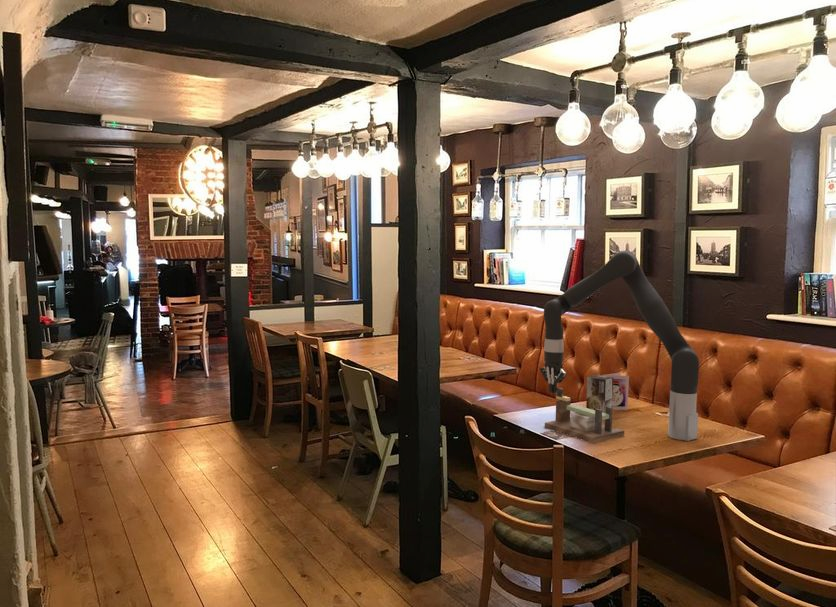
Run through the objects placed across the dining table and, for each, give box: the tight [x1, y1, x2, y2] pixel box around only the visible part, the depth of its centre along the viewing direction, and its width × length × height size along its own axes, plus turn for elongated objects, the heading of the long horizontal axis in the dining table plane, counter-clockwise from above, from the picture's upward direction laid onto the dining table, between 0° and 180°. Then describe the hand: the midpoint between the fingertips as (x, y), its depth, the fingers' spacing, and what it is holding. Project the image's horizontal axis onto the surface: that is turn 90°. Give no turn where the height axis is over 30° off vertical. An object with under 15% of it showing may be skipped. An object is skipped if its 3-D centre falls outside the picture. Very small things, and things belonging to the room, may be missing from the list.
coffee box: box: [585, 374, 613, 413], centre depth 277 cm, size 9×6×16 cm
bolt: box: [555, 387, 571, 401], centre depth 260 cm, size 6×2×4 cm, turn 36°
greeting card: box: [601, 372, 630, 411], centre depth 288 cm, size 11×7×15 cm, turn 86°
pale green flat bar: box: [567, 403, 609, 421], centre depth 250 cm, size 17×4×2 cm, turn 36°
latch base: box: [544, 399, 625, 444], centre depth 252 cm, size 24×17×11 cm
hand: (552, 393), depth 265 cm, fingers closed
